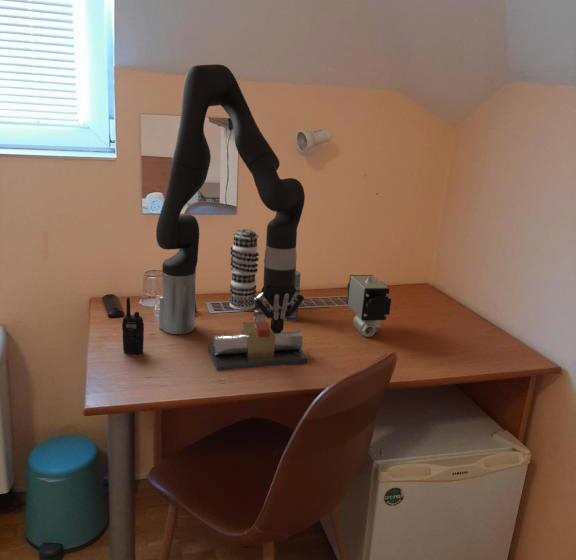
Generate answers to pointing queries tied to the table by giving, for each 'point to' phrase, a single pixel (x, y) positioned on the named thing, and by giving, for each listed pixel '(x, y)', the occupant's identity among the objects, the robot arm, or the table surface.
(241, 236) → the black and white cylinder
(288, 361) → the valve board
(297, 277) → the container
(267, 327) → the valve lever
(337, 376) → the table surface
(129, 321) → the two-way radio
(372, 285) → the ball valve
